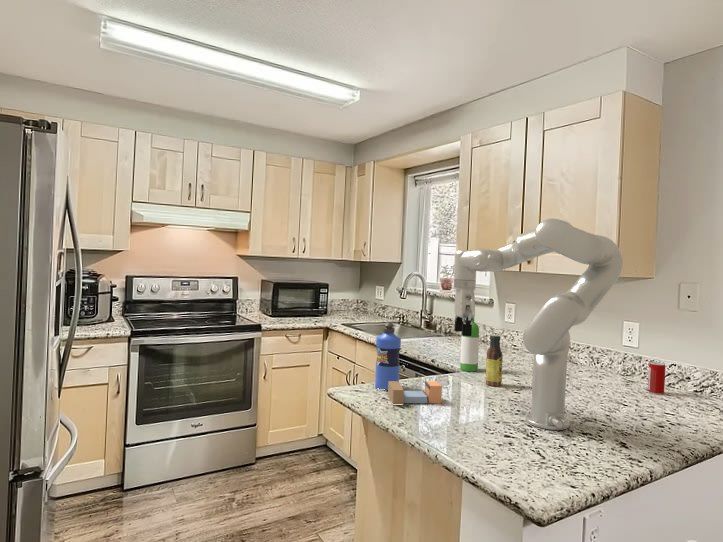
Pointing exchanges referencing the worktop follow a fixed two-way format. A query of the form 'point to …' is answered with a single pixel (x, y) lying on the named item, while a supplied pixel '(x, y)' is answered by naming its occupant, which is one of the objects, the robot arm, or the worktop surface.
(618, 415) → the worktop surface
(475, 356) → the wine bottle
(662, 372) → the soda can
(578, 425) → the worktop surface
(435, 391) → the stub
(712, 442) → the worktop surface
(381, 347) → the water bottle
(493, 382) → the sauce bottle
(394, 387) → the tan blue stepped block
